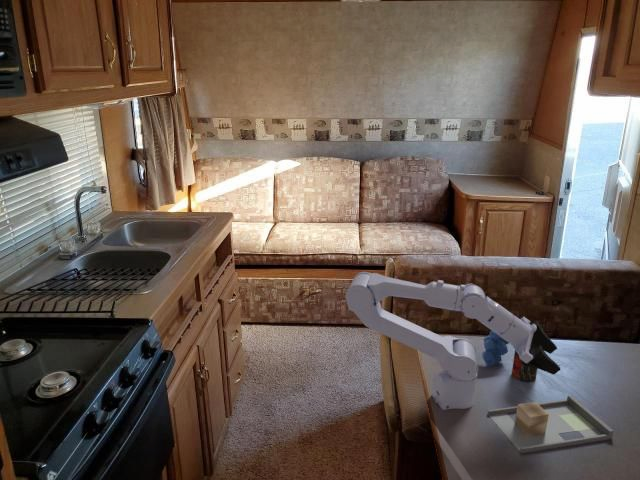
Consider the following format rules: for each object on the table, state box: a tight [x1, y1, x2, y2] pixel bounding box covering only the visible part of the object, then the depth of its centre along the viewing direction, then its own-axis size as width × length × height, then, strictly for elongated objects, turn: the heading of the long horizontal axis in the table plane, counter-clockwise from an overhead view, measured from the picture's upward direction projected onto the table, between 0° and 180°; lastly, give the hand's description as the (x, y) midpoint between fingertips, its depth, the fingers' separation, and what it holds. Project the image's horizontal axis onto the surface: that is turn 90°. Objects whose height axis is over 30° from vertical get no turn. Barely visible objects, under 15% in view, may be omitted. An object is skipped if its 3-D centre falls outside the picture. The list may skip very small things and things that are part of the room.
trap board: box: [487, 394, 615, 454], centre depth 108 cm, size 22×13×4 cm, turn 103°
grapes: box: [481, 330, 510, 367], centre depth 135 cm, size 12×7×12 cm, turn 128°
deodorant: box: [511, 344, 538, 383], centre depth 126 cm, size 6×6×15 cm
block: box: [514, 401, 549, 437], centre depth 107 cm, size 4×4×5 cm
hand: (555, 360), depth 109 cm, fingers open, 7 cm apart
